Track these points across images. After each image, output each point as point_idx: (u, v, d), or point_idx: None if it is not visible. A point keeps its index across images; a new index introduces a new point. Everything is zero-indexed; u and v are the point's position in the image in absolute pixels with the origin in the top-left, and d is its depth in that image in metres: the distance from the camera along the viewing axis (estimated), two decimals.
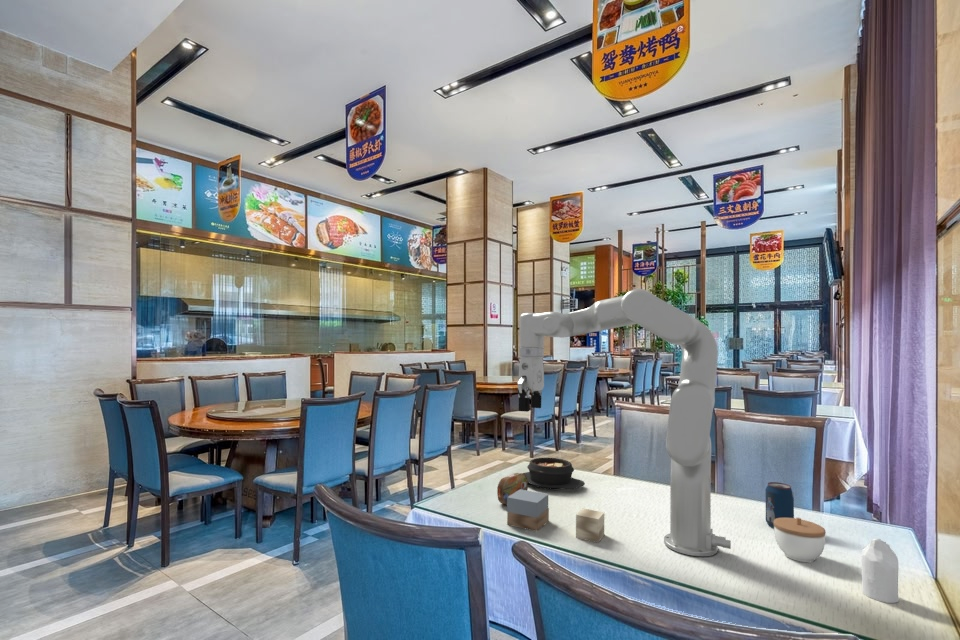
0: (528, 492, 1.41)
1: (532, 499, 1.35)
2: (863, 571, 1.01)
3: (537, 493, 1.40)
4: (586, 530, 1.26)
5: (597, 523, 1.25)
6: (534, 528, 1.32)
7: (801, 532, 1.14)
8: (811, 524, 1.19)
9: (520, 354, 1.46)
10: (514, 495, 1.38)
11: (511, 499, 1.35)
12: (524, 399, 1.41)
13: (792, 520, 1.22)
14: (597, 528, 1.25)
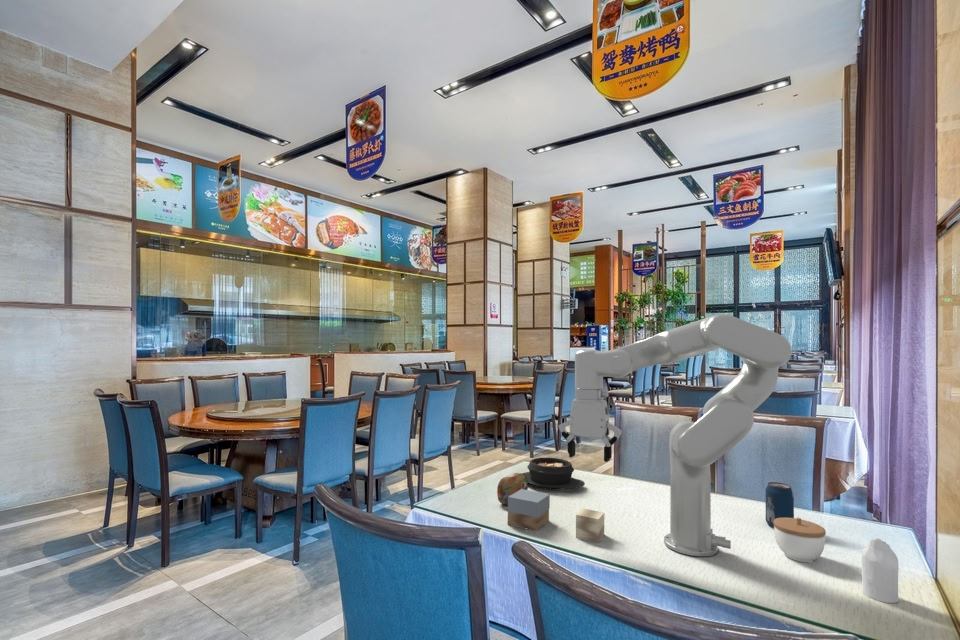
0: (529, 492, 1.41)
1: (533, 499, 1.35)
2: (863, 571, 1.01)
3: (538, 492, 1.40)
4: (586, 530, 1.26)
5: (597, 523, 1.25)
6: (535, 528, 1.32)
7: (801, 532, 1.14)
8: (811, 524, 1.19)
9: (596, 398, 1.28)
10: (516, 494, 1.38)
11: (512, 499, 1.35)
12: (611, 447, 1.28)
13: (792, 520, 1.22)
14: (597, 528, 1.25)
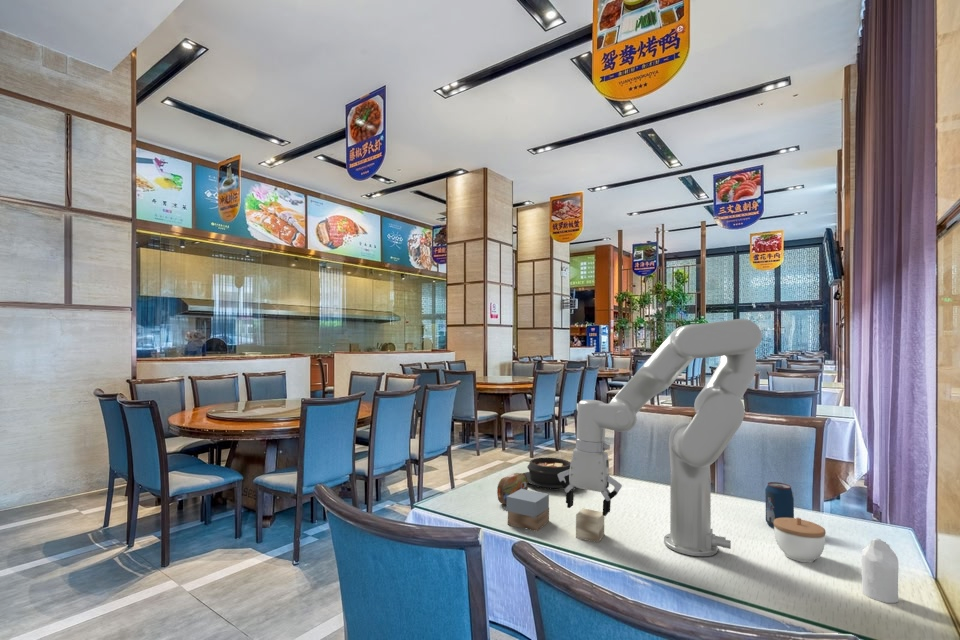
0: (529, 492, 1.41)
1: (531, 498, 1.35)
2: (863, 571, 1.01)
3: (537, 492, 1.40)
4: (586, 530, 1.26)
5: (597, 523, 1.25)
6: (535, 528, 1.32)
7: (801, 532, 1.14)
8: (811, 524, 1.19)
9: (598, 450, 1.27)
10: (514, 494, 1.38)
11: (510, 498, 1.36)
12: (610, 500, 1.27)
13: (792, 520, 1.22)
14: (597, 528, 1.25)
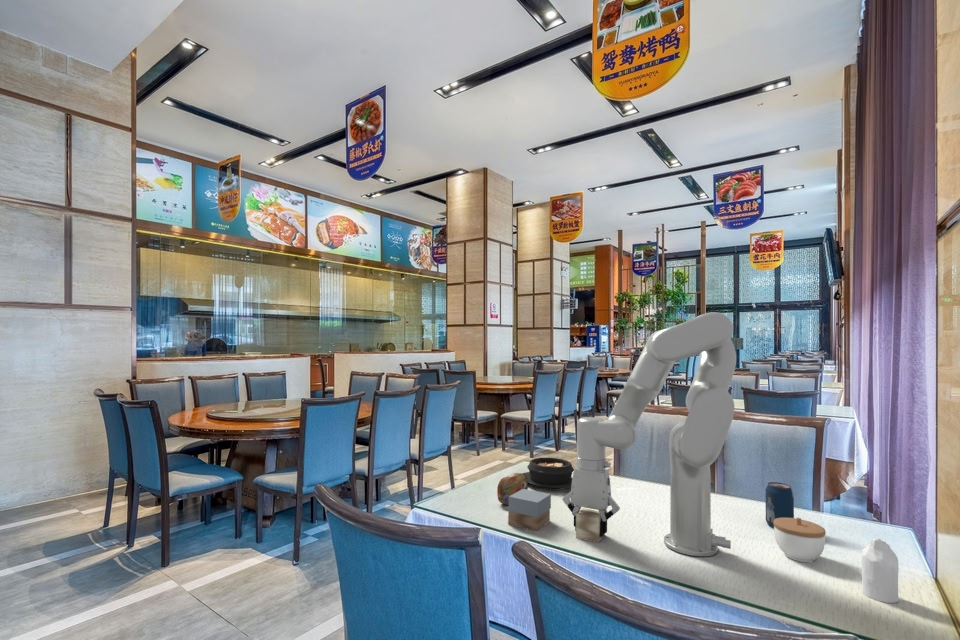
0: (530, 492, 1.41)
1: (534, 498, 1.35)
2: (863, 571, 1.01)
3: (539, 492, 1.40)
4: (586, 530, 1.26)
5: (597, 523, 1.25)
6: (535, 528, 1.32)
7: (801, 532, 1.14)
8: (811, 524, 1.19)
9: (599, 469, 1.26)
10: (516, 494, 1.38)
11: (512, 498, 1.36)
12: (606, 521, 1.27)
13: (792, 520, 1.22)
14: (597, 528, 1.25)
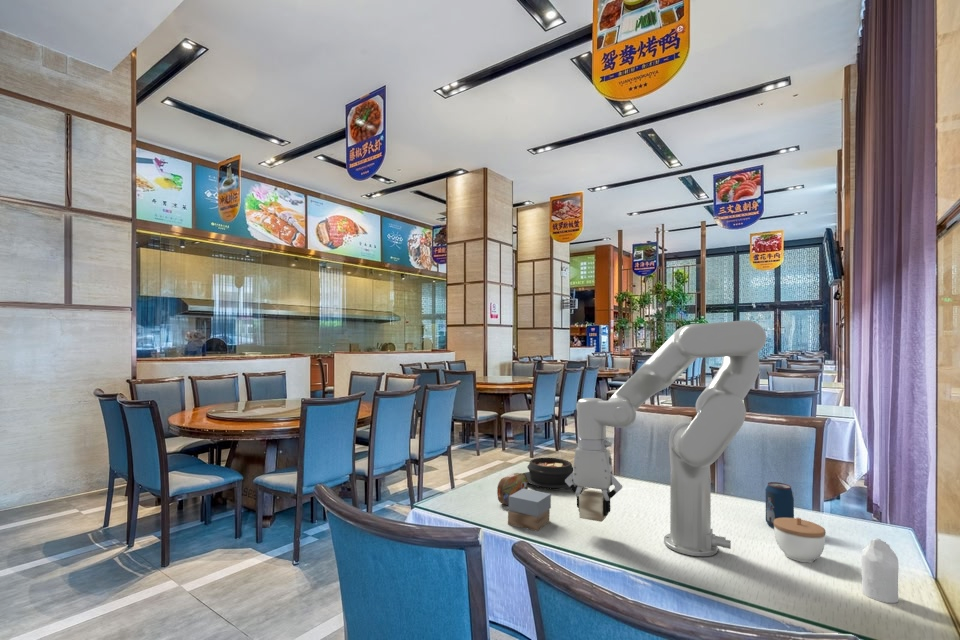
0: (531, 491, 1.41)
1: (534, 498, 1.35)
2: (863, 571, 1.01)
3: (539, 492, 1.41)
4: (590, 510, 1.26)
5: (600, 502, 1.25)
6: (535, 528, 1.32)
7: (801, 532, 1.14)
8: (811, 524, 1.19)
9: (600, 448, 1.26)
10: (516, 494, 1.39)
11: (512, 498, 1.36)
12: (609, 500, 1.27)
13: (792, 520, 1.22)
14: (600, 507, 1.25)
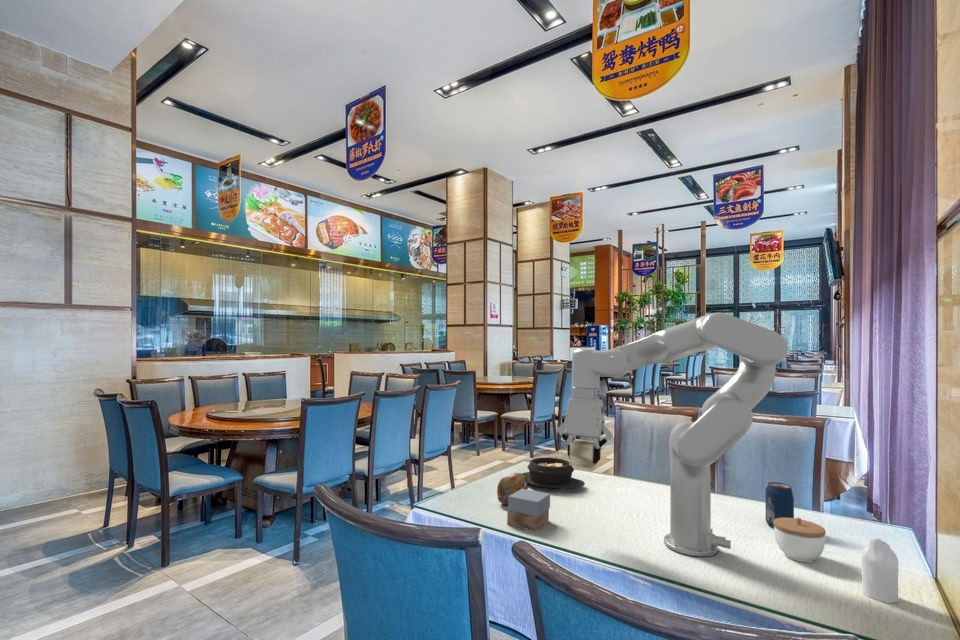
0: (530, 491, 1.41)
1: (533, 498, 1.35)
2: (863, 571, 1.01)
3: (539, 492, 1.41)
4: (580, 457, 1.28)
5: (590, 449, 1.27)
6: (534, 528, 1.32)
7: (801, 532, 1.14)
8: (811, 524, 1.19)
9: (593, 397, 1.28)
10: (516, 494, 1.39)
11: (512, 498, 1.36)
12: (600, 449, 1.29)
13: (792, 520, 1.22)
14: (590, 454, 1.27)
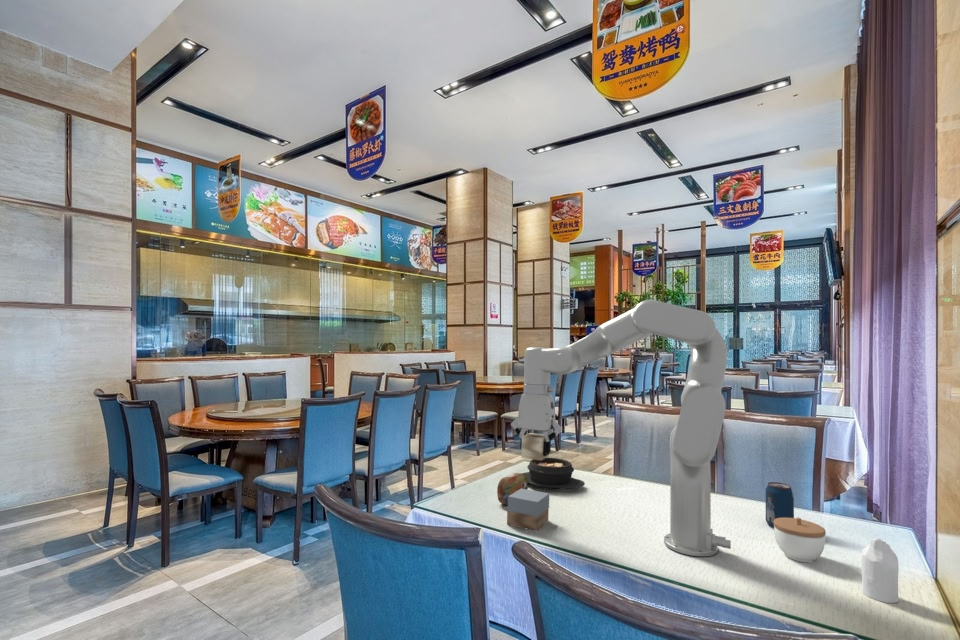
0: (529, 491, 1.41)
1: (533, 498, 1.35)
2: (863, 571, 1.01)
3: (538, 492, 1.41)
4: (531, 449, 1.35)
5: (540, 442, 1.34)
6: (534, 528, 1.32)
7: (801, 532, 1.14)
8: (811, 524, 1.19)
9: (543, 393, 1.35)
10: (515, 494, 1.38)
11: (512, 498, 1.36)
12: (550, 442, 1.36)
13: (792, 520, 1.22)
14: (540, 447, 1.34)
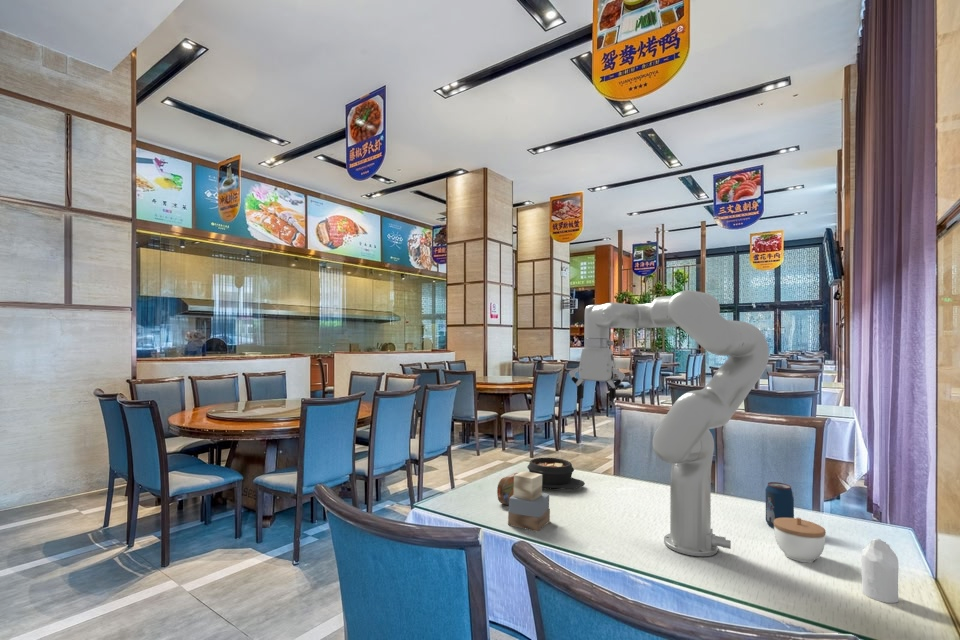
0: None
1: None
2: (863, 571, 1.01)
3: None
4: (522, 489, 1.35)
5: (531, 482, 1.34)
6: (535, 529, 1.31)
7: (801, 532, 1.14)
8: (811, 524, 1.19)
9: (603, 345, 1.47)
10: None
11: (513, 500, 1.35)
12: (615, 389, 1.47)
13: (792, 520, 1.22)
14: (531, 487, 1.34)
